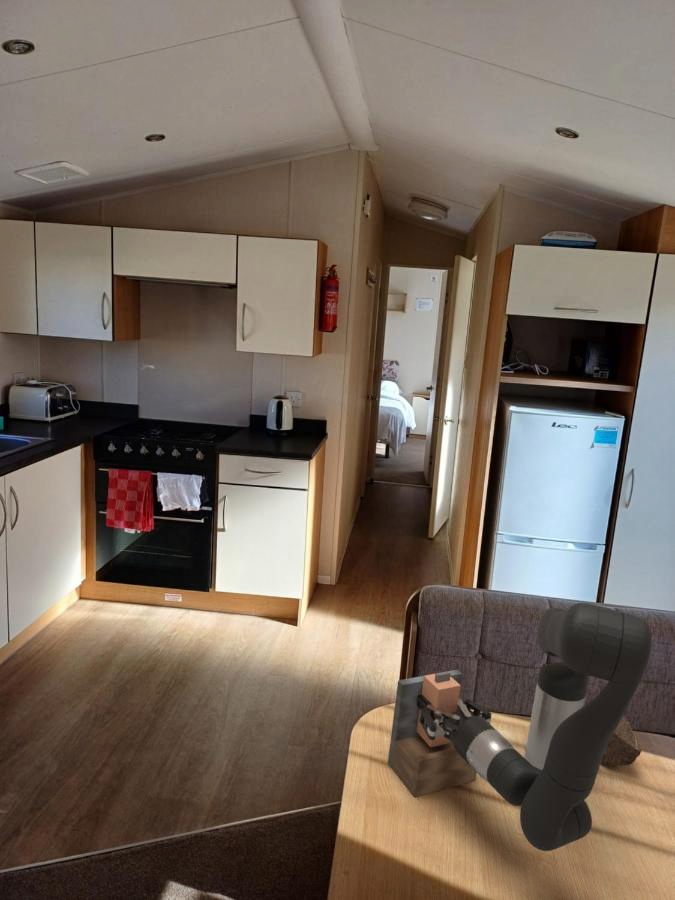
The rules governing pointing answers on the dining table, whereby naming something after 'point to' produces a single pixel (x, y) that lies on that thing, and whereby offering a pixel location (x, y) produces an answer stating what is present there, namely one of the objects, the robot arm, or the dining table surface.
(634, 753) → the rock
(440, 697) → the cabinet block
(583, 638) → the robot arm
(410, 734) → the grey brown l-shaped block
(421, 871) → the dining table surface
